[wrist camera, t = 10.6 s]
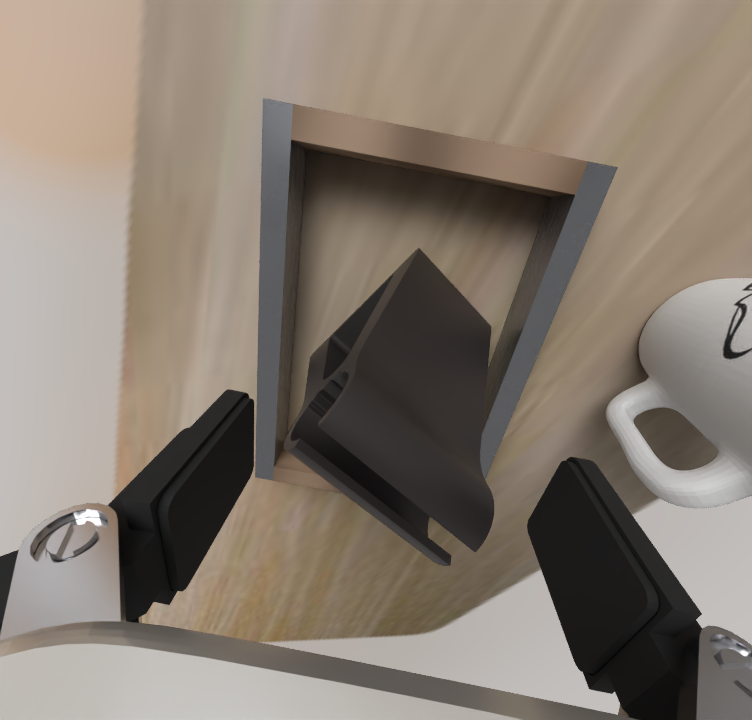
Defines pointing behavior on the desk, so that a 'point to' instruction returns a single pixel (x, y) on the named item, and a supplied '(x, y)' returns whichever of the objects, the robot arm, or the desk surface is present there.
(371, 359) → the phone stand
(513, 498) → the desk surface
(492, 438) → the wooden frame
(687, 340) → the mug
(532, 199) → the desk surface
